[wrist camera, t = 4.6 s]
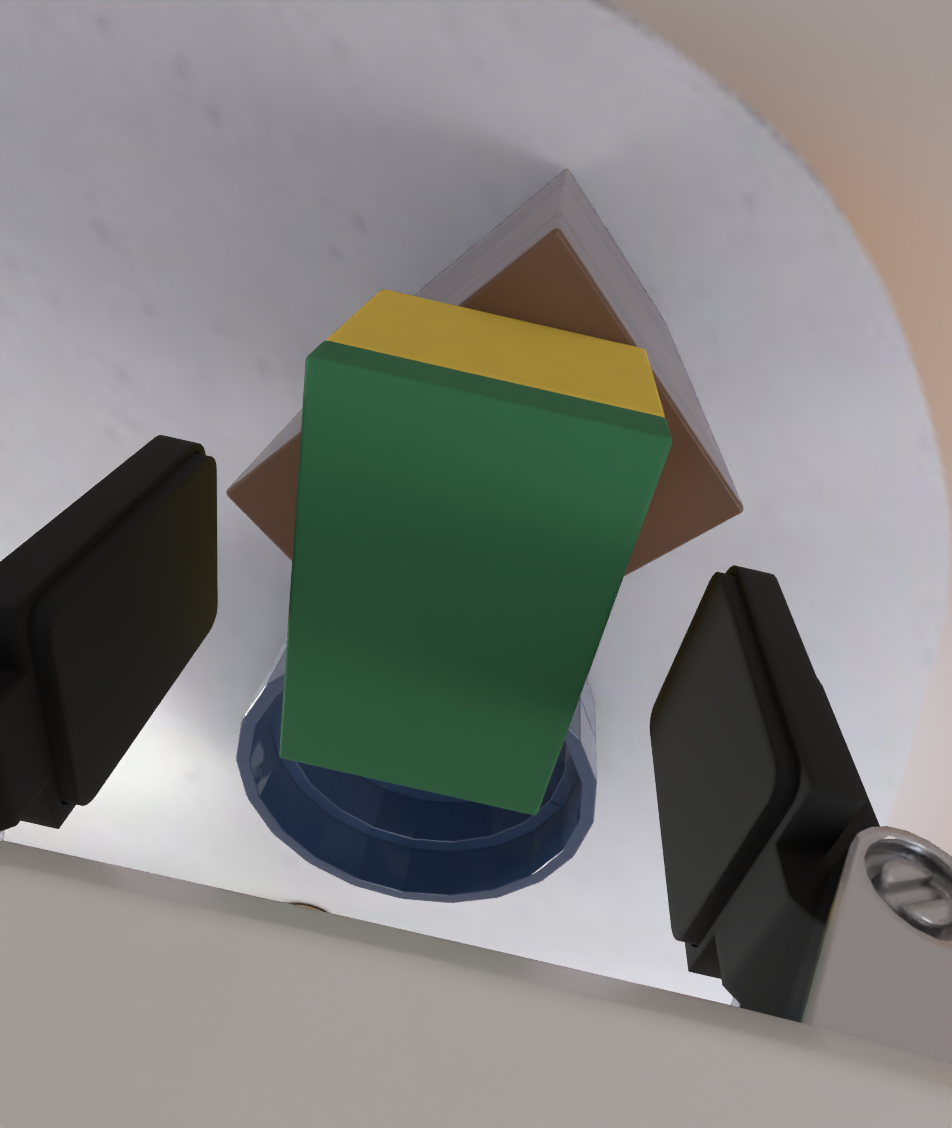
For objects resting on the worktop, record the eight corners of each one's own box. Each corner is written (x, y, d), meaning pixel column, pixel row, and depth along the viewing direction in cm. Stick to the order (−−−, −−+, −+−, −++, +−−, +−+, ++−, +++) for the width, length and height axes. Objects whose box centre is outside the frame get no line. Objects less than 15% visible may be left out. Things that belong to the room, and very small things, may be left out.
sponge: (380, 287, 12) (304, 356, 9) (647, 348, 12) (674, 440, 9) (342, 620, 16) (278, 759, 12) (545, 667, 16) (537, 817, 12)
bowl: (458, 507, 30) (436, 580, 25) (654, 740, 35) (666, 835, 31) (218, 664, 36) (165, 747, 31) (417, 842, 41) (396, 935, 37)
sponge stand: (567, 167, 23) (557, 225, 11) (666, 323, 25) (746, 511, 13) (382, 321, 26) (222, 494, 14) (484, 449, 28) (417, 690, 17)
